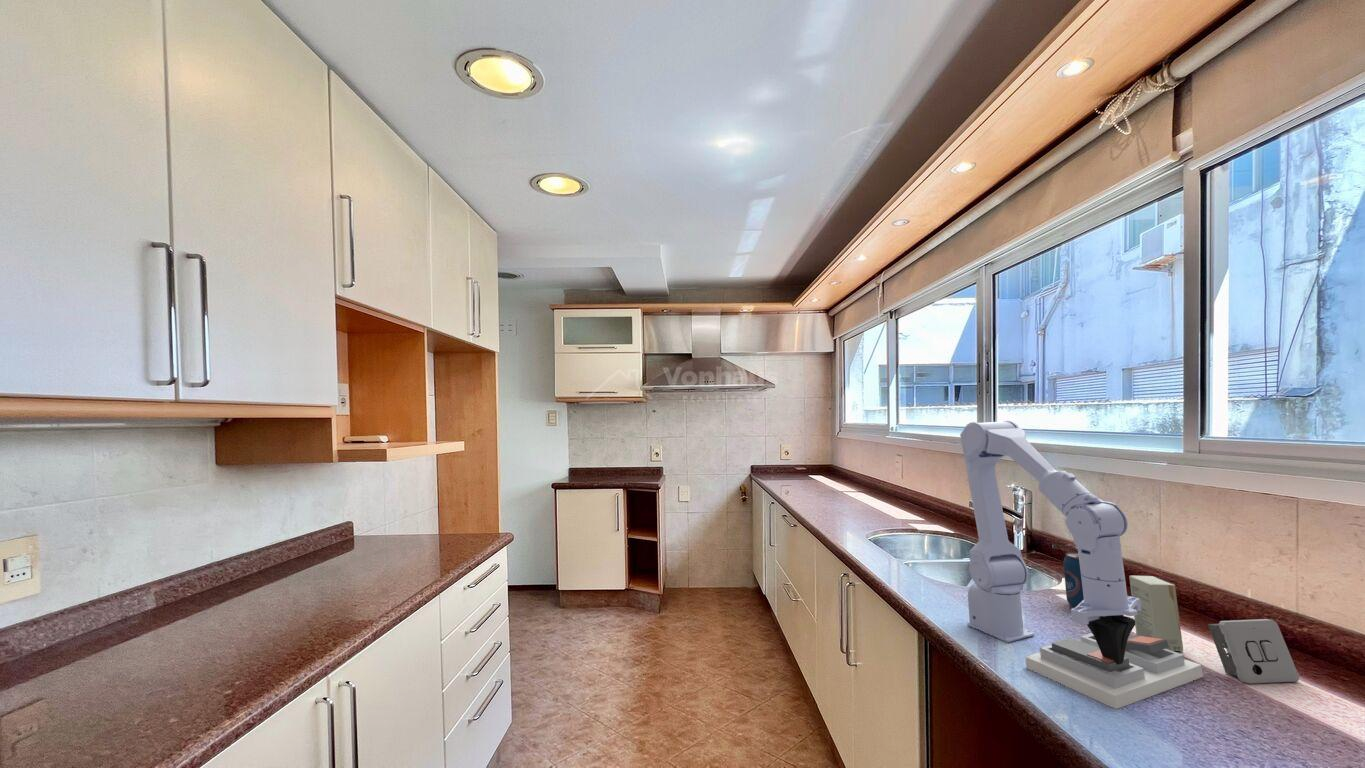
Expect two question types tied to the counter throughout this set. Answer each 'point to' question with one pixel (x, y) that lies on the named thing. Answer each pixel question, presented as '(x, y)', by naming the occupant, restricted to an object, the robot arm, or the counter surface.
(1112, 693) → the breaker panel
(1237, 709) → the counter surface
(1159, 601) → the skincare box
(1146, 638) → the rocker
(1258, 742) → the counter surface
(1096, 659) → the rocker
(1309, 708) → the counter surface
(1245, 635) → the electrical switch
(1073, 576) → the soda can
